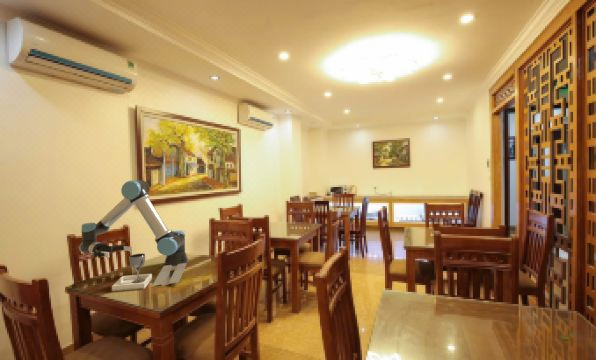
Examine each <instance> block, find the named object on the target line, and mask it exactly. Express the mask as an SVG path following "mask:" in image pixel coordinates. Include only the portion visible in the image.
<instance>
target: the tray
mask: <svg viewBox="0 0 596 360" xmlns="http://www.w3.org/2000/svg"><path fill="white" fill-rule="evenodd" d="M136 279H138V276H137V274H132V275H122V276H121V277H120V278H119V279H117V280H116V281H115V283H113V285H112V286H111V292H124V291H133V290H134V291H136V290H145V289H146V287H147V286H148V284H150V282H151V281H152V279H153V274H152V273H145V274H139V279H145V281H143V282H140V283H132V281H134V280H136Z"/></svg>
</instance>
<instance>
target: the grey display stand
mask: <svg viewBox="0 0 596 360" xmlns="http://www.w3.org/2000/svg"><path fill="white" fill-rule="evenodd" d="M187 265H188V263H182V264H178V265H177V266H171V265H167V266H165V265H163V267H162V268H161V269H160V271H159V273H158V275H157V277H156V278H155V280H154V282H153V283H152V286H154V287H155V286H169V285H170V284H175V283H176V284H177V283H179V282H180V280H181V278H182V275H183V274H184V271H185V269H186V266H187Z"/></svg>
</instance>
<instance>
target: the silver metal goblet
mask: <svg viewBox="0 0 596 360" xmlns="http://www.w3.org/2000/svg"><path fill="white" fill-rule="evenodd" d="M145 262H146V254H145V253H135V254H131V255H130V256H129V264H130V267H131V268H133V269H134V270H135V271H136V275H137V276H138V279H136V280H134V281H132V283H140V282H143V281H145V279H139V275H140V271H141V268H143V266H144V265H145Z"/></svg>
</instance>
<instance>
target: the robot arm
mask: <svg viewBox="0 0 596 360" xmlns="http://www.w3.org/2000/svg"><path fill="white" fill-rule="evenodd" d="M150 188H151V187H150V185H149V183H148V182H147V181H145V180H141V179H138V180H135V179H133V180H129V181H126V182H124V184H123V185H122V186H121V189H120V190H121V191H120V192H121V195H122V197H123V199H121V201H119V202H118V203H117V204H116V205H115V206H114V207H113V208H111V210H109V211H108V212H107V214H105V215H104V217H102V218H101V219H100V220H99V221H98V222H97V223H95V222H86V223H82V224H81V240H82V241H81V242H80V245H79V246H78V250H79V251H80V252H81V253H84V254H88V255H93V257H94V258H97V257H98V259H101V258H102V257H103V258H110V253H113V252H115V251H116V252H118V251H124V252H132V246H129V244H120V245H119V244H118V245H117V244H113V245H109V244H106V243H104V242H98V241H97V236H99V235H102V234H103V235H104V234H105V233H107V232H108V231H110V228H111V227H112V226H113V225H114V224H115V223H116V222H117V221H118V220H119V219H120V218H122V217H123V215H125V213H127V212H128V211H129V210H130V209H131V208H132V207H134V206H135V207H136V208H137V210H138V212H139V213H140V214H141V217H143V220H144V221H145V222H146V224H147V226H148V227H149V229H150V230H151V232H152V234H153V235H154V236H155V238H154V241H155V244H157V245H156V249H157V252H158V253H159V254H160V255H162V256H166V257H165V260H164V266H167V265H171V266H177V265H178V264H182V263H187V264H188V263H189V258H188V255H187V253H186V233H185V231H184V230H172V229H169V228H168V227H167V225H166V223H165V222H164V221H163V219H162V217H161V216H160V214H159V213H158V211H157V210H156V208H155V206H154V205H153V203H152V202H151V200H150Z"/></svg>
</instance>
